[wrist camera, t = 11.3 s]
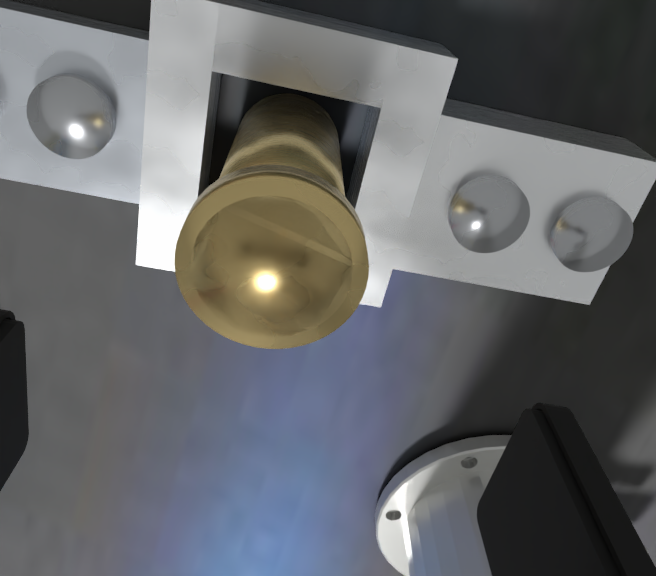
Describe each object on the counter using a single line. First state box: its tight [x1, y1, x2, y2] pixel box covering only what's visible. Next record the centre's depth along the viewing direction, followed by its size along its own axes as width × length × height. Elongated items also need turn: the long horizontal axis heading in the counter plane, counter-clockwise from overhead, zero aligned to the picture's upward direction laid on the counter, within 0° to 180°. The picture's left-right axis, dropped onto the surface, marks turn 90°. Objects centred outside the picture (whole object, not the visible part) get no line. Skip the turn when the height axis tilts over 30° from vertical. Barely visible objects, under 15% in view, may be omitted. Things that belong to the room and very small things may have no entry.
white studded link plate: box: [0, 0, 656, 307], centre depth 22 cm, size 26×10×4 cm, turn 78°
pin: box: [174, 93, 369, 349], centre depth 19 cm, size 5×5×10 cm
